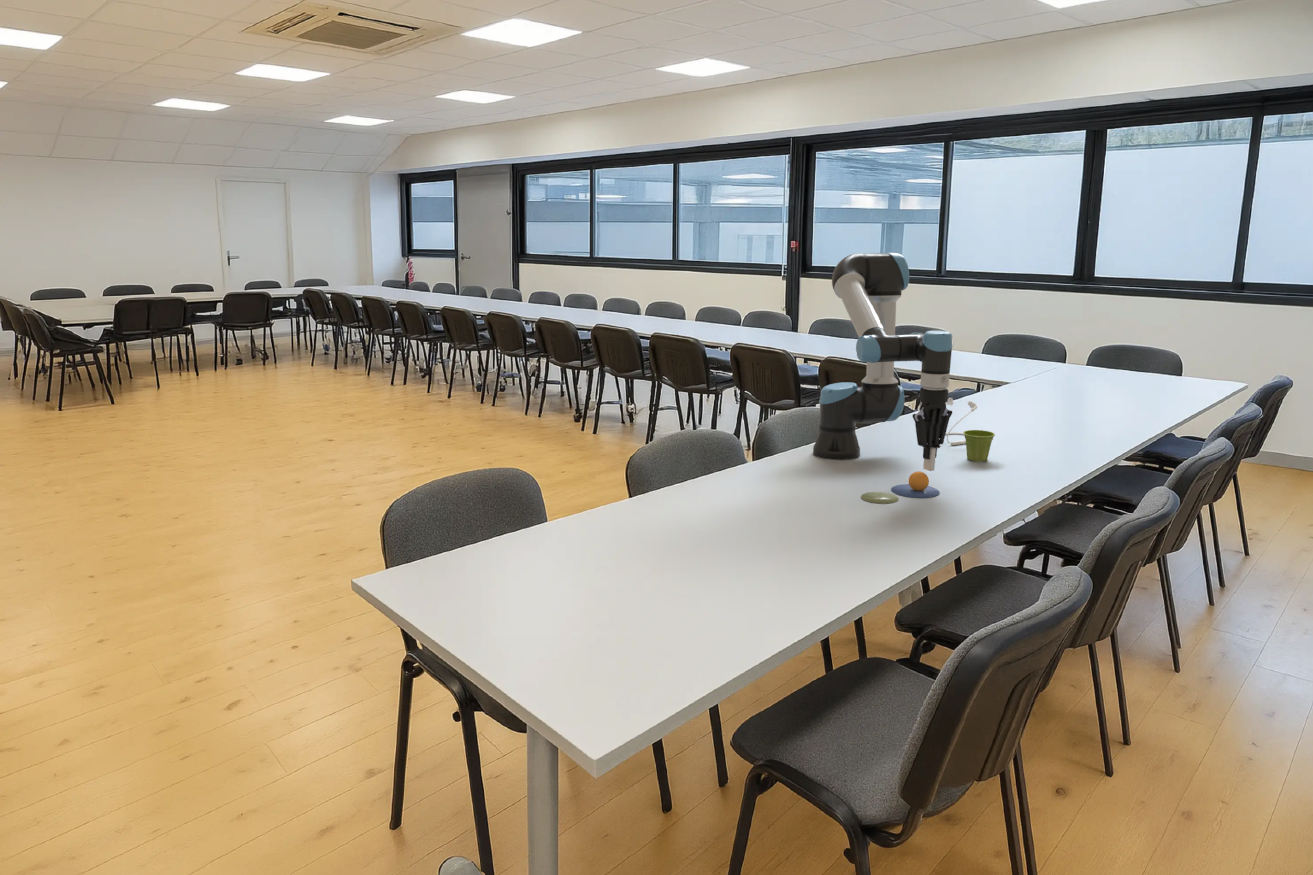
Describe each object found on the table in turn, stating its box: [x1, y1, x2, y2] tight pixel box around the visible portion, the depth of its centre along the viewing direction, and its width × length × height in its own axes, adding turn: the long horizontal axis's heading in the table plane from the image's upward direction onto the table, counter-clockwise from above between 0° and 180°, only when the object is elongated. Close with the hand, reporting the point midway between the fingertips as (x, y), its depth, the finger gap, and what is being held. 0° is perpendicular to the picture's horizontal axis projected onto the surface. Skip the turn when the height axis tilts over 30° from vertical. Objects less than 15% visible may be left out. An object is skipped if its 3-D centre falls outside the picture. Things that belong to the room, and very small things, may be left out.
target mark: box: [890, 483, 940, 499], centre depth 240 cm, size 13×13×1 cm
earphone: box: [945, 397, 978, 446], centre depth 298 cm, size 14×17×18 cm
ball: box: [908, 471, 930, 491], centre depth 239 cm, size 6×6×6 cm
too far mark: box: [860, 491, 900, 505], centre depth 234 cm, size 10×10×1 cm
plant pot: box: [962, 429, 996, 463], centre depth 271 cm, size 9×9×9 cm
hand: (928, 469), depth 241 cm, fingers closed
